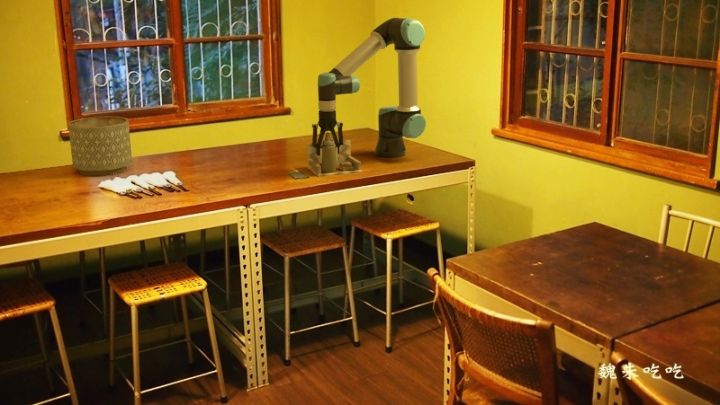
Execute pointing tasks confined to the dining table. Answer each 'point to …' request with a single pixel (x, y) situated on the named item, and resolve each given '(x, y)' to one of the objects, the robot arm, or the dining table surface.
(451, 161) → the dining table surface
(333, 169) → the squeeze bottle
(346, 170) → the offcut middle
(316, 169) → the rack
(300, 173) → the mat
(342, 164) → the offcut top
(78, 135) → the planter
